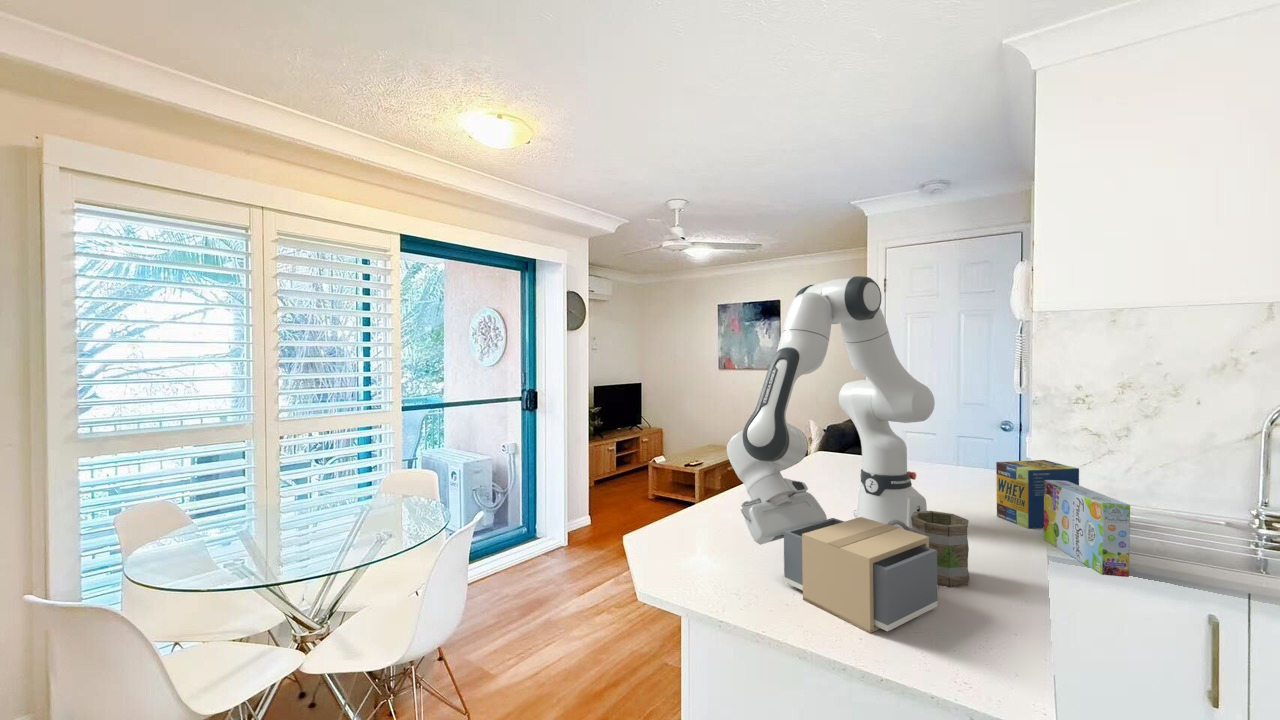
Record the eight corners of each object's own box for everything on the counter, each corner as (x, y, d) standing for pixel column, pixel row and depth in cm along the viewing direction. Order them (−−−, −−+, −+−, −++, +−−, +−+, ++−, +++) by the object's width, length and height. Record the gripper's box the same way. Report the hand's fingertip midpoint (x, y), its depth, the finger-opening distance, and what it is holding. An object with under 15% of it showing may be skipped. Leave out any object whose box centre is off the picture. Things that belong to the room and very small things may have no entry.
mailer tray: (833, 564, 110) (832, 517, 110) (937, 606, 91) (937, 550, 91) (784, 581, 102) (783, 531, 102) (887, 631, 83) (886, 570, 83)
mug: (959, 567, 109) (958, 512, 109) (980, 590, 99) (980, 528, 99) (880, 561, 113) (879, 508, 113) (893, 583, 102) (892, 524, 102)
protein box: (995, 516, 142) (995, 461, 142) (1045, 513, 144) (1044, 459, 144) (1028, 529, 132) (1027, 469, 132) (1081, 526, 134) (1080, 467, 134)
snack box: (1133, 578, 103) (1132, 504, 103) (1101, 576, 104) (1100, 503, 104) (1067, 540, 124) (1067, 479, 124) (1041, 539, 125) (1041, 478, 125)
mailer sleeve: (861, 576, 105) (861, 516, 105) (929, 603, 94) (929, 536, 93) (802, 599, 96) (801, 533, 96) (870, 633, 84) (869, 558, 84)
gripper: (744, 495, 107) (780, 556, 99) (809, 481, 118) (846, 535, 110) (730, 511, 111) (763, 571, 103) (794, 496, 122) (829, 549, 113)
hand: (807, 552), depth 106 cm, fingers closed, pressing on mailer tray
